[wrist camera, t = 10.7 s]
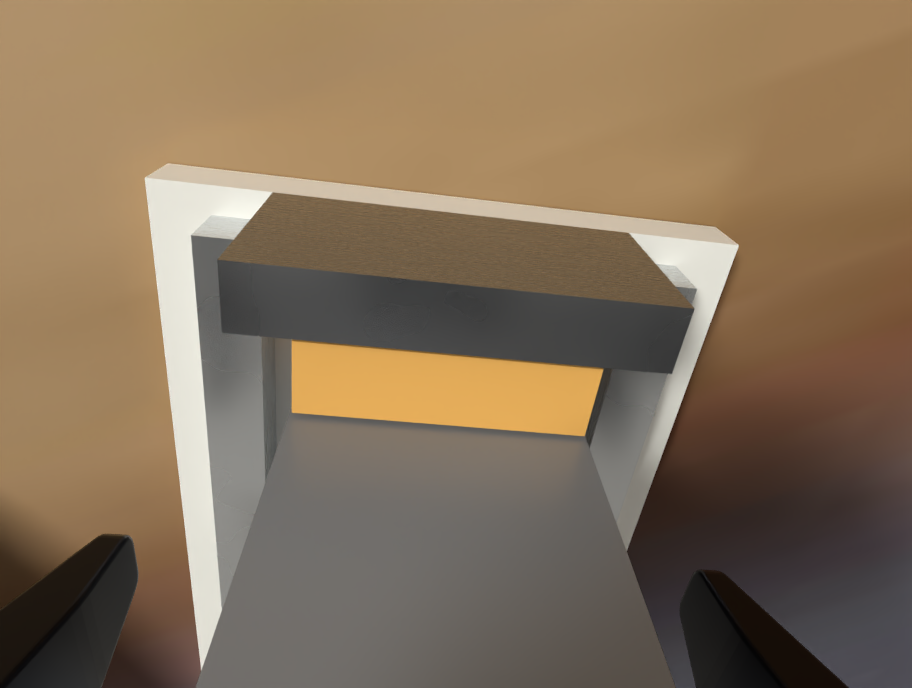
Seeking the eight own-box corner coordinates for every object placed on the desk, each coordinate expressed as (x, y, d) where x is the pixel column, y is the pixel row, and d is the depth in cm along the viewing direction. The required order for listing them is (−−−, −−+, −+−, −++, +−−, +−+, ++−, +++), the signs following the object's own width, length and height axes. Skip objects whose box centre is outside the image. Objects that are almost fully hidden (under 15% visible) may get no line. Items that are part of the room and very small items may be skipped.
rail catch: (556, 356, 11) (584, 436, 9) (317, 335, 11) (291, 412, 9) (570, 298, 11) (603, 369, 9) (319, 273, 10) (291, 341, 8)
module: (511, 543, 14) (575, 958, 8) (312, 530, 14) (218, 959, 8) (555, 355, 12) (695, 742, 6) (316, 333, 11) (182, 726, 5)
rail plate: (547, 717, 19) (574, 875, 16) (219, 705, 18) (170, 871, 15) (715, 227, 12) (838, 323, 8) (167, 163, 11) (41, 242, 7)
